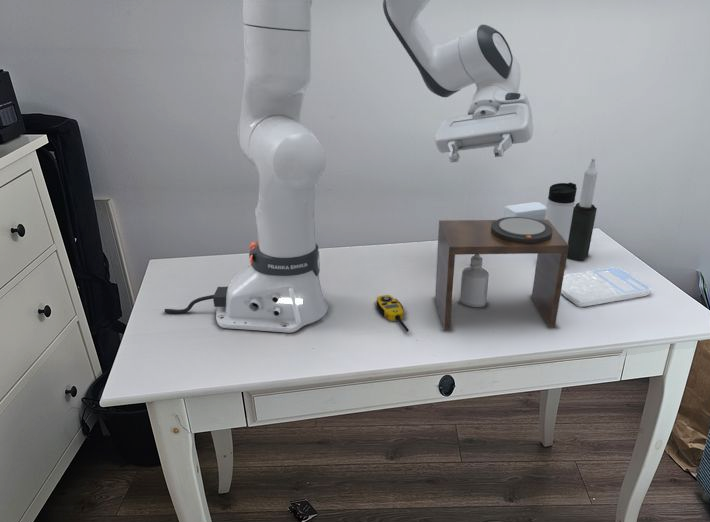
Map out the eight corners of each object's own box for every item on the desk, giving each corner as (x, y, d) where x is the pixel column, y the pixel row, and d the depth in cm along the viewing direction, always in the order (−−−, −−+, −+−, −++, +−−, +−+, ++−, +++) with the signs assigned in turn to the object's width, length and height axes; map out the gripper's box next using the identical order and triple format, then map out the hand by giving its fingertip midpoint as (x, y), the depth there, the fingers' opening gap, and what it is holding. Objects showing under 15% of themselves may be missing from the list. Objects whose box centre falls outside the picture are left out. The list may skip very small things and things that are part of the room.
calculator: (545, 282, 144) (547, 275, 144) (616, 271, 151) (617, 264, 150) (578, 308, 134) (580, 300, 133) (652, 295, 141) (654, 287, 140)
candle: (582, 261, 156) (600, 161, 143) (563, 257, 158) (579, 158, 145) (589, 255, 159) (607, 157, 146) (570, 250, 162) (587, 153, 148)
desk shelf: (444, 330, 124) (449, 246, 115) (435, 298, 136) (439, 220, 126) (555, 327, 127) (569, 245, 117) (536, 296, 138) (548, 219, 129)
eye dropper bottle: (475, 310, 132) (479, 258, 125) (456, 301, 135) (460, 250, 129) (489, 304, 134) (494, 253, 128) (470, 295, 138) (474, 245, 131)
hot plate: (498, 244, 117) (498, 237, 116) (485, 221, 127) (486, 215, 126) (559, 243, 118) (560, 236, 117) (542, 221, 128) (543, 215, 127)
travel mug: (570, 266, 153) (584, 186, 143) (550, 272, 150) (563, 191, 139) (552, 257, 157) (564, 179, 147) (533, 263, 154) (544, 183, 144)
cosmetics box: (533, 238, 168) (538, 200, 163) (546, 246, 164) (552, 208, 158) (499, 242, 165) (503, 204, 159) (512, 251, 160) (516, 212, 154)
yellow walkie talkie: (393, 292, 134) (419, 324, 122) (393, 300, 135) (419, 332, 123) (372, 295, 132) (396, 328, 120) (372, 303, 133) (396, 336, 122)
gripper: (439, 107, 132) (422, 150, 125) (533, 92, 123) (520, 137, 116) (448, 131, 136) (432, 174, 129) (540, 118, 127) (528, 164, 120)
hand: (475, 156), depth 123 cm, fingers open, 8 cm apart
